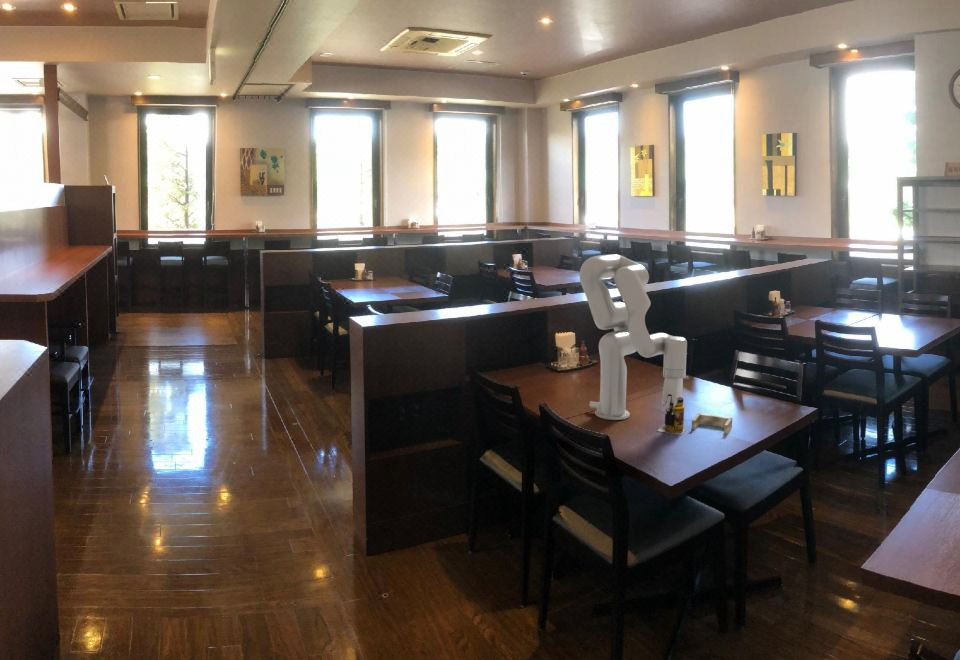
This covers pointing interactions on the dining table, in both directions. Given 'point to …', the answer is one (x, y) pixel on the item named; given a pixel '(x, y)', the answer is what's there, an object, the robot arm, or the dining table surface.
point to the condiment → (676, 420)
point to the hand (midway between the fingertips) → (672, 421)
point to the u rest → (712, 421)
